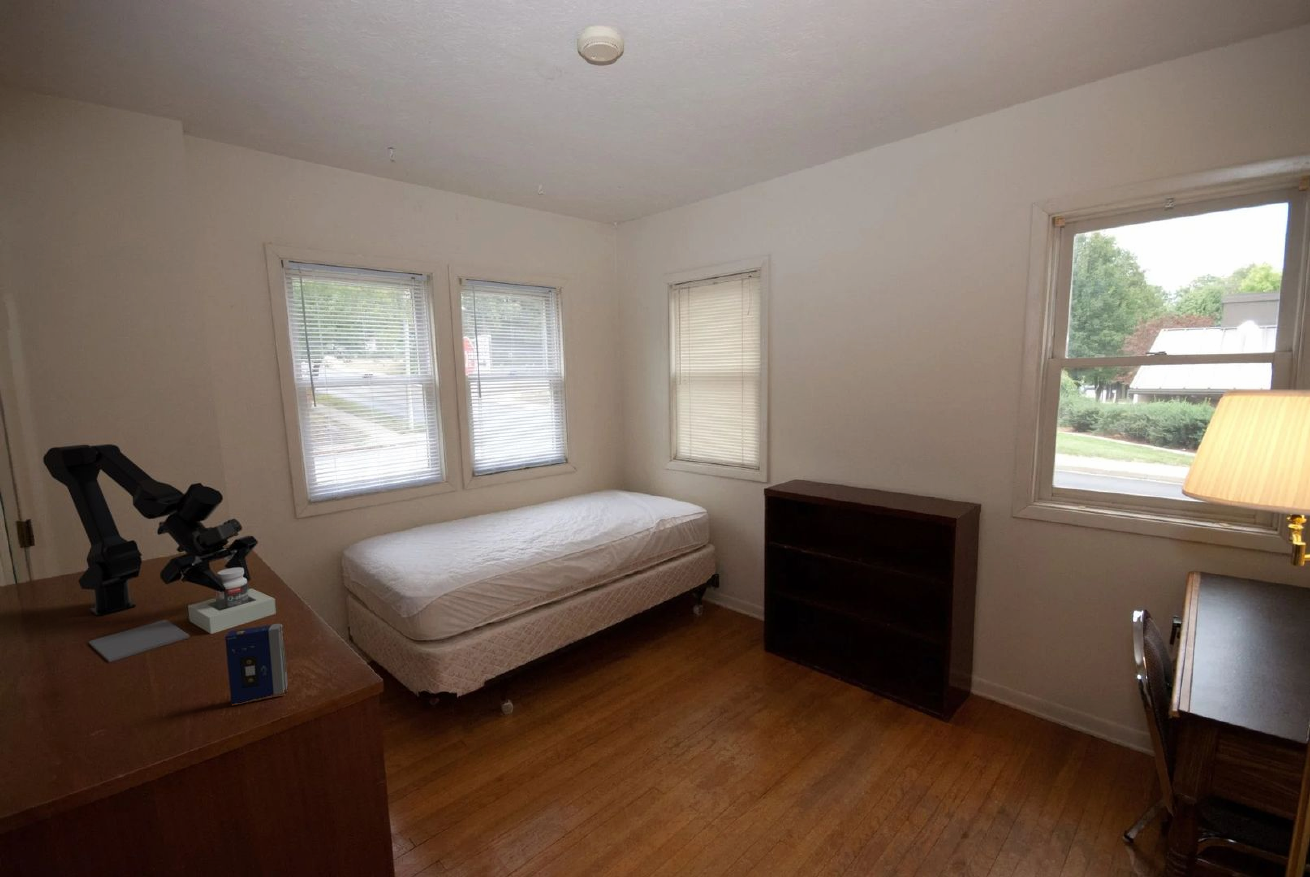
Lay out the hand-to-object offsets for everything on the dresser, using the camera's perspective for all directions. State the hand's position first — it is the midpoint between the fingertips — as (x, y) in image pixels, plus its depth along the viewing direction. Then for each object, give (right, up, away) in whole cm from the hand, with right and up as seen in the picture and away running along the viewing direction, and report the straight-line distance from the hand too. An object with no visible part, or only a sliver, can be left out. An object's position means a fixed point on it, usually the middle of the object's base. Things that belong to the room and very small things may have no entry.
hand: (236, 585), depth 122 cm
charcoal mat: (-12, -8, -10) cm, 18 cm away
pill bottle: (-1, -7, +1) cm, 7 cm away
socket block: (-1, -7, +1) cm, 7 cm away
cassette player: (+28, -10, -31) cm, 43 cm away
